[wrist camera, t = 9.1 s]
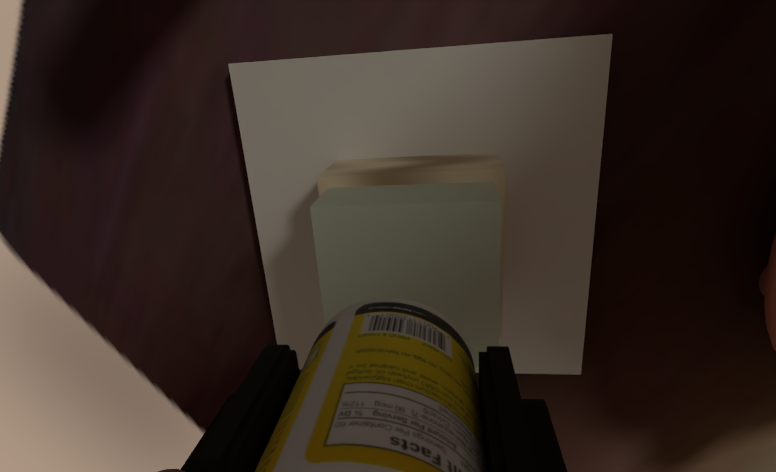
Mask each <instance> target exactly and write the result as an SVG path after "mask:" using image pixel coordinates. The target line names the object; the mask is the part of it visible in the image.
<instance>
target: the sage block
mask: <svg viewBox="0 0 776 472" xmlns="http://www.w3.org/2000/svg"><path fill="white" fill-rule="evenodd" d="M310 212H311V220H312V228H313V235H314V243H315V251H316V259H317V266H318V274H319V282H320V289H321V297H322V305H323V312H324V320H325V325H326V324H327V323H328V322H329V321H330V320H331V319H332V318H333V317H334V316H335V315H336V314H338V313H339V312H341V311H342V310H344V309H345V308H347V307H349V306H351V305H353V304H355V303H358V302H361V301H364V300H368V299H372V298H379V297H396V298H405V299H409V300H413V301H417V302H420V303H422V304H425V305H427V306H429V307H431V308H433V309H435V310H436V311H438V312H439V313H441V314H442V315H443V316H445V317H446V318H447V319H448V320H449V321H450V322H452V323H453V324H454V325H455V327H456V328H457V329H458V330H459V331H460V333H461V334H462V335H463V337H464V338H465V340H466V342H467V344H468V346H469V348H470V351H471V354H472V357H473V361H474V366H475V367H479V352H486V349H487V346H499V302H500V250H501V199H500V196H499V194H498V192H497V189H496V187H495V185H494V183H493V181H489V182H463V183H437V184H410V185H384V186H358V187H331V188H328V189H327V190H326V191H325V192H324V193H323V194H322V195H321V196H320V197H319V198H318V199H317V200H316V201H315V202H314V203H313V204H312V205H311V206H310Z"/></svg>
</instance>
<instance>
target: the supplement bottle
mask: <svg viewBox="0 0 776 472" xmlns="http://www.w3.org/2000/svg"><path fill="white" fill-rule="evenodd" d="M255 472H488V468H487V459H486V451H485V443H484V434H483V428H482V420H481V412H480V402H479V395H478V388H477V382H476V372H475V366H474V361H473V357H472V354H471V351H470V348H469V346H468V344H467V342H466V340H465V338H464V337H463V335H462V334H461V333H460V331H459V330H458V329H457V328H456V327H455V325H454V324H453V323H452V322H450V321H449V320H448V319H447V318H446V317H445V316H443V315H442V314H441V313H439V312H438V311H436V310H435V309H433V308H431V307H429V306H427V305H425V304H422V303H420V302H417V301H413V300H409V299H405V298H396V297H379V298H372V299H368V300H364V301H361V302H358V303H355V304H353V305H351V306H349V307H347V308H345V309H344V310H342V311H341V312H339V313H338V314H336V315H335V316H334V317H333V318H332V319H331V320H330V321H329V322H328V323H327V324H326V325H325V326H324V327H323V329H322V330H321V331H320V333H319V334H318V336H317V338H316V340H315V342H314V344H313V346H312V348H311V350H310V353H309V355H308V357H307V359H306V361H305V364H304V366H303V368H302V370H301V373H300V375H299V377H298V379H297V381H296V384H295V386H294V388H293V390H292V392H291V394H290V397H289V399H288V401H287V403H286V405H285V407H284V410H283V412H282V414H281V416H280V418H279V421H278V423H277V425H276V427H275V429H274V432H273V434H272V436H271V438H270V440H269V442H268V444H267V446H266V449H265V451H264V453H263V455H262V457H261V459H260V461H259V463H258V465H257V468H256V470H255Z"/></svg>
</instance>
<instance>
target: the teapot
mask: <svg viewBox="0 0 776 472" xmlns="http://www.w3.org/2000/svg"><path fill="white" fill-rule="evenodd" d="M759 289H760V291H761V293H762V294H763V295H764V296H765V299H764V309H765V321H766V327H767V331H768V334H769V337H770V340H771V343H772V346H773V348H774V350H775V351H776V234H775V237H774V240H773V243H772V247H771V252H770V256H769V262H768V266H767V267H766V268H765V269H764V270H763V272H762V273H761V275H760V278H759Z"/></svg>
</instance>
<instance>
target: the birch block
mask: <svg viewBox="0 0 776 472" xmlns="http://www.w3.org/2000/svg"><path fill="white" fill-rule="evenodd" d="M505 170H506V169H505V167H504V166H503V164H502V163H501V161H500V159H499V158H498V156H497V155H496V153H477V154H455V155H434V156H412V157H390V158H369V159H347V160H337V161H335V162H334V163H333V164H332V165H330V166H329V167H328V168H327V169H326V170H324V171H323V172H322V173H321V174H319V175H318V176H317V184H318V192H319V197H320V196H321V195H322V194H323V193H324V192H325V191H326V190H327V189H328V188H331V187H358V186H384V185H410V184H437V183H463V182H489V181H493V183H494V185H495V187H496V189H497V192H498V194H499V196H500V199H501V250H500V302H499V337H502V309H503V263H504V216H505Z"/></svg>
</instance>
